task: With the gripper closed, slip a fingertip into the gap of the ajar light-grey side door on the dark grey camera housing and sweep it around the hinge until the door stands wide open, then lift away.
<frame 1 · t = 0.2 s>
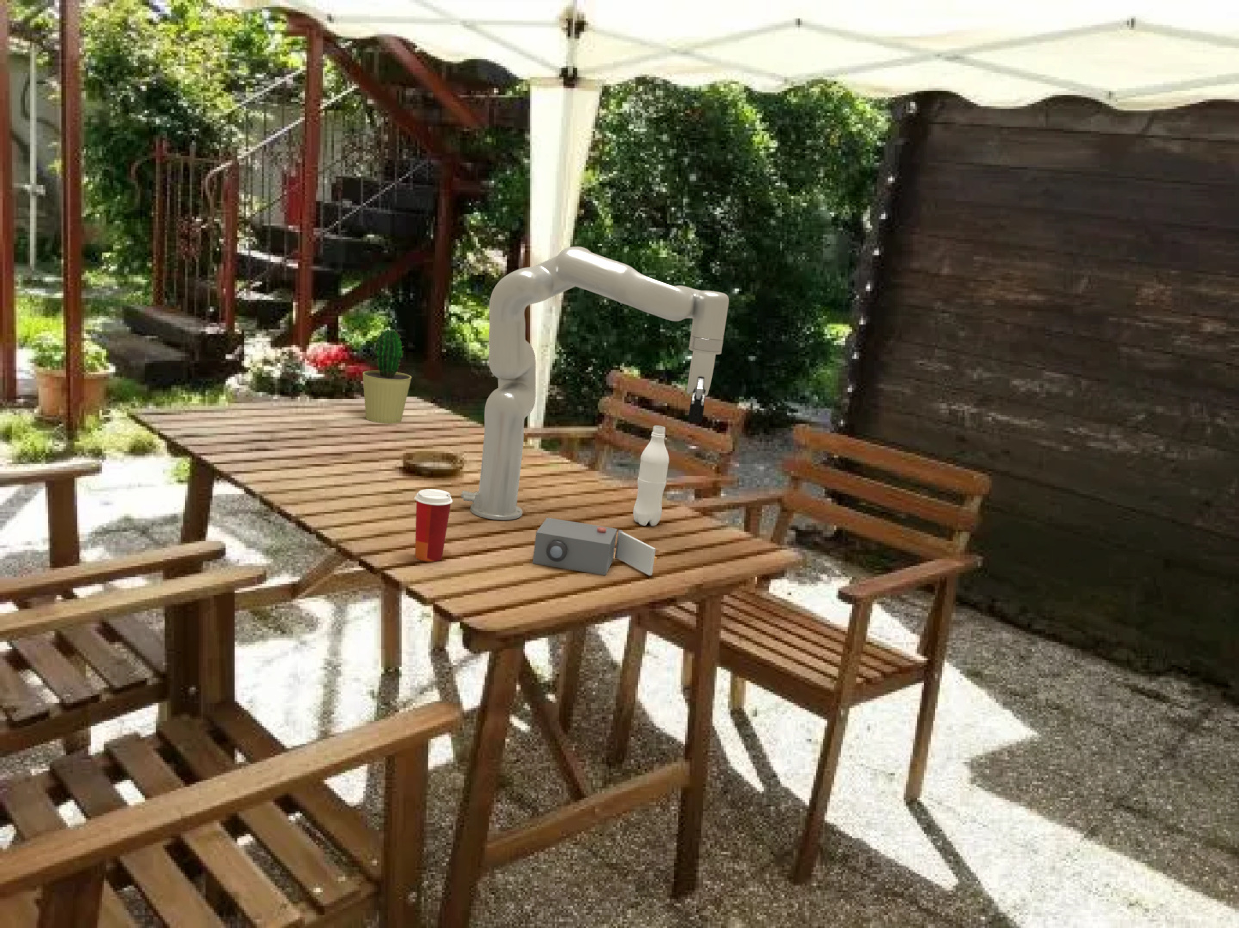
hand: (695, 417, 250), 31 cm above the table, tool pointing down, fingers open, 9 cm apart
side door: (636, 552, 234), point 4 cm above the table, hinge at 45.0°
paper cup: (428, 558, 224), on the table
potted cactus: (383, 420, 347), on the table
camera body: (573, 560, 234), on the table
water bottle: (645, 523, 270), on the table
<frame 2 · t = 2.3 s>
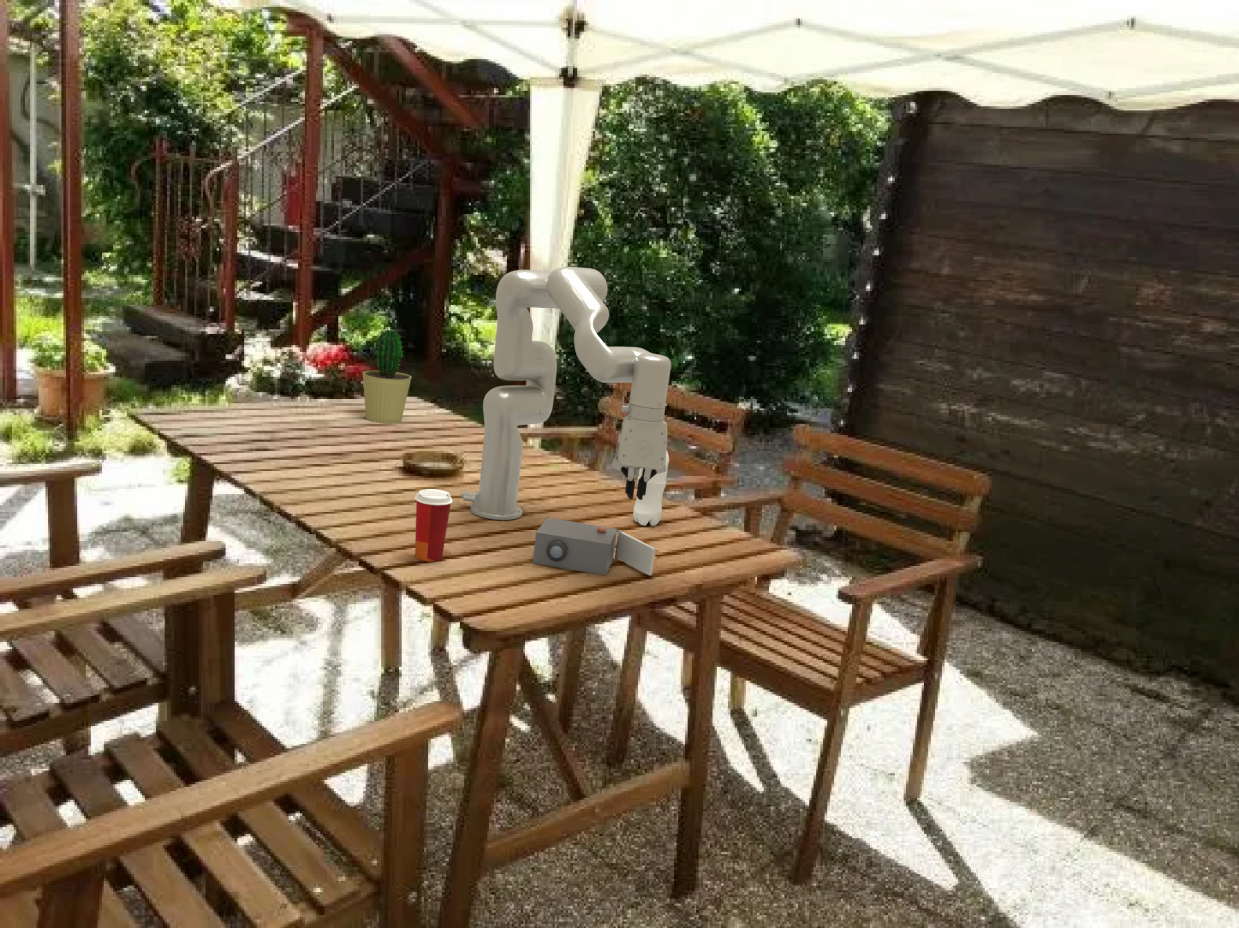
hand: (634, 497, 227), 17 cm above the table, tool pointing down, fingers closed
nothing on the table moved.
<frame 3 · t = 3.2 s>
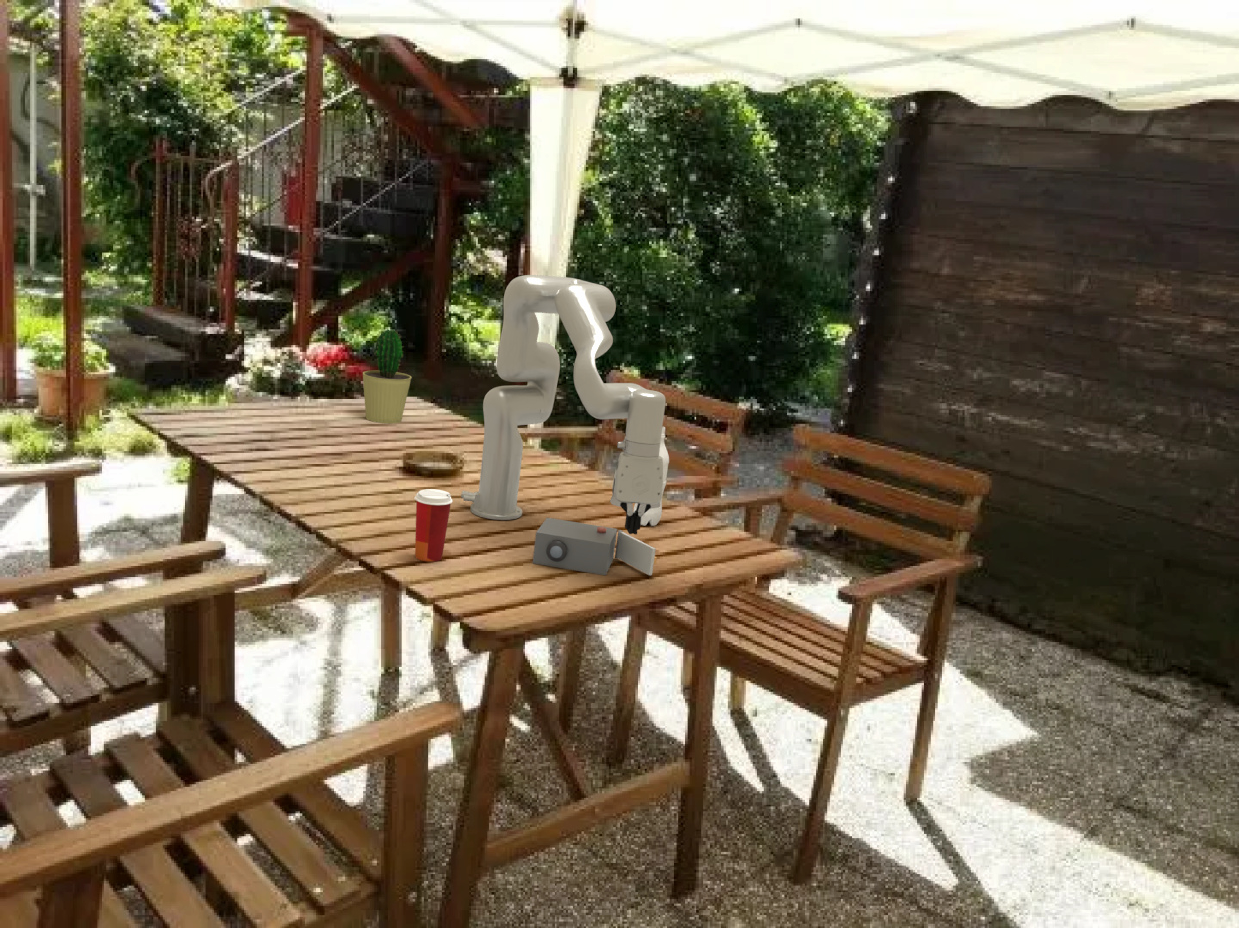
hand: (631, 532, 228), 9 cm above the table, tool pointing down, fingers closed
nothing on the table moved.
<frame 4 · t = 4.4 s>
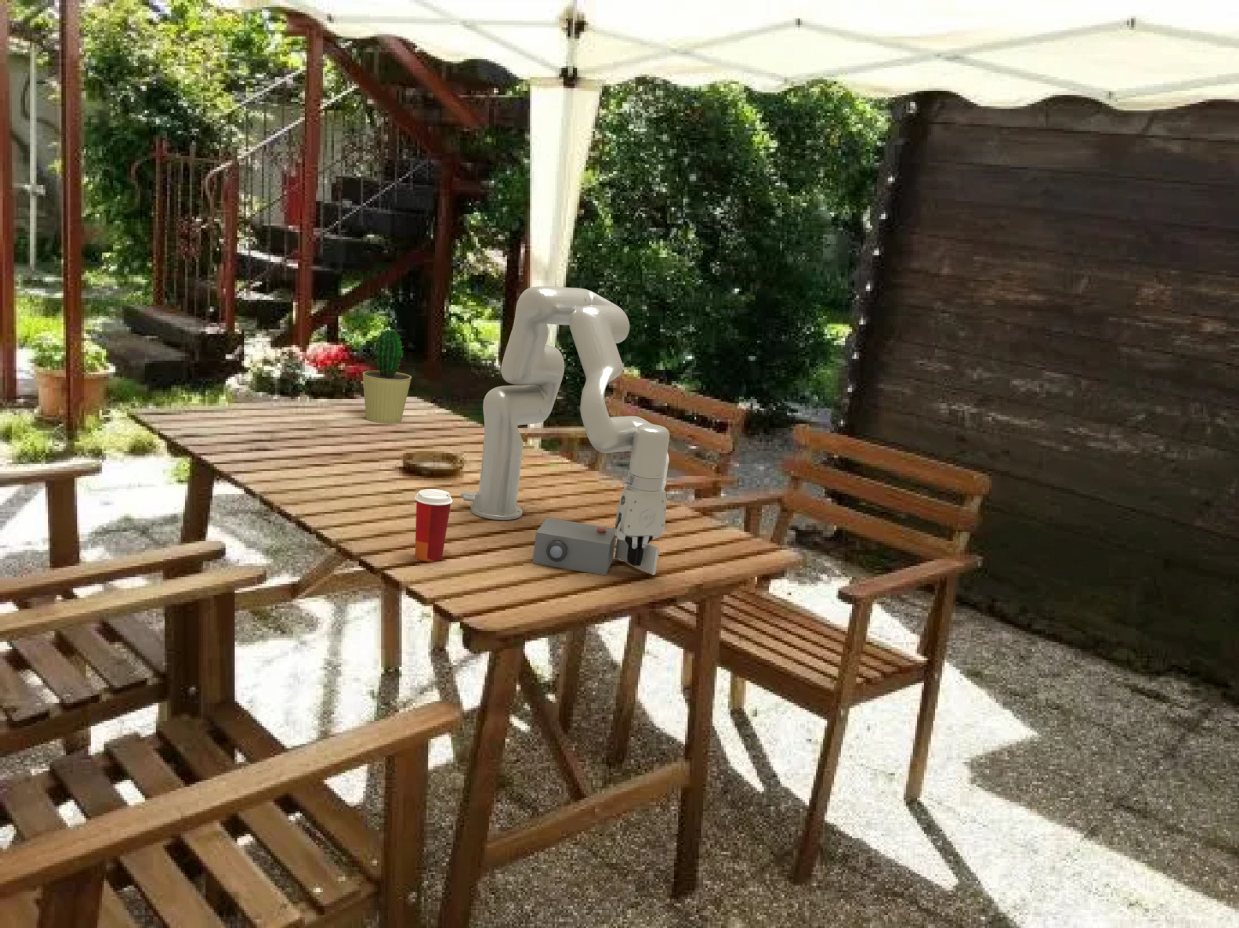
hand: (633, 563, 231), 2 cm above the table, tool pointing down, fingers closed
side door: (637, 552, 235), point 4 cm above the table, hinge at 49.8°, touching gripper
everything else where it was.
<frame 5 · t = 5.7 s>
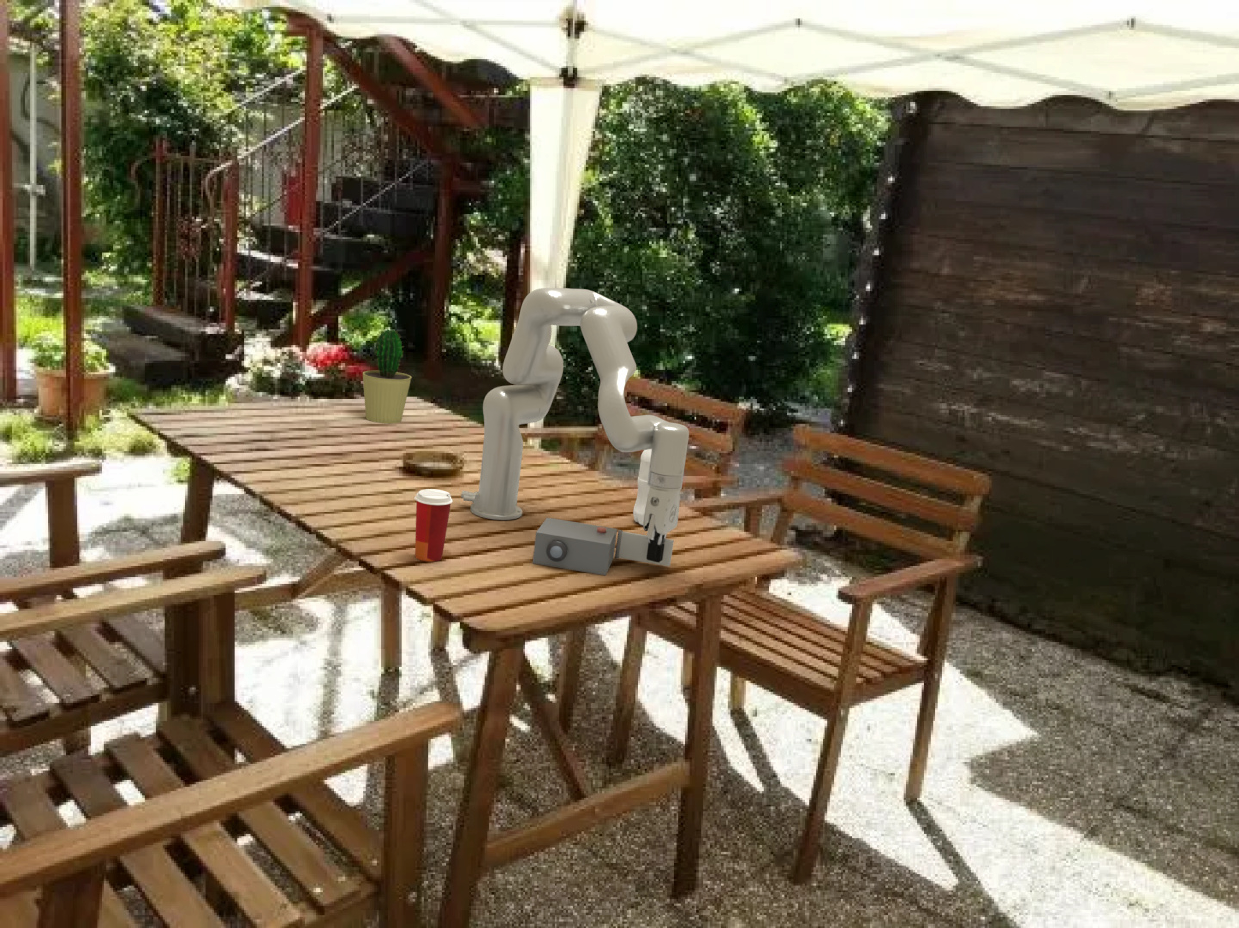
hand: (654, 560, 235), 2 cm above the table, tool pointing down, fingers closed
side door: (644, 548, 238), point 4 cm above the table, hinge at 89.3°, touching gripper
everything else where it was.
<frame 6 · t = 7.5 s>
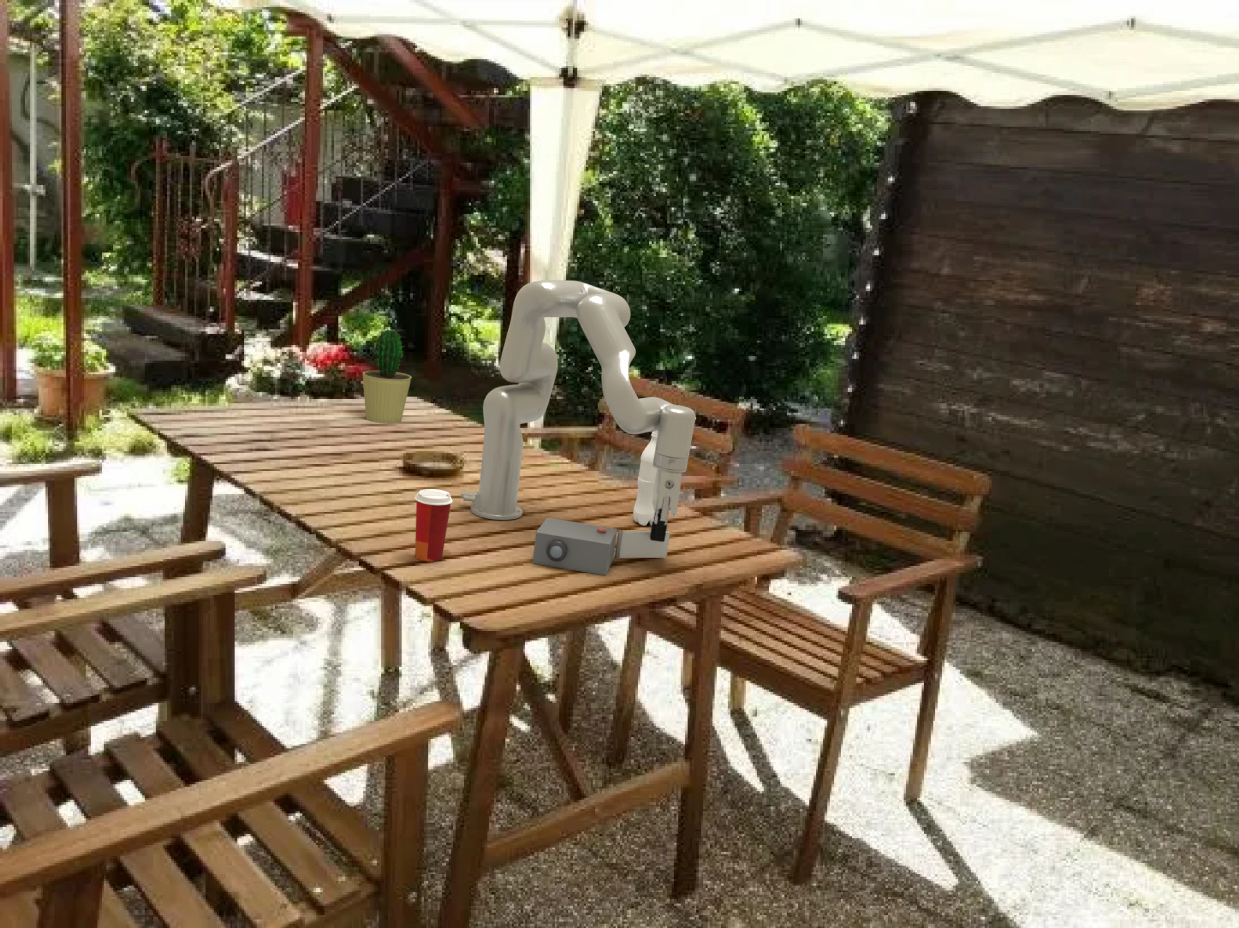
hand: (656, 539, 239), 5 cm above the table, tool pointing down, fingers closed
side door: (641, 543, 241), point 4 cm above the table, hinge at 118.8°
everything else where it was.
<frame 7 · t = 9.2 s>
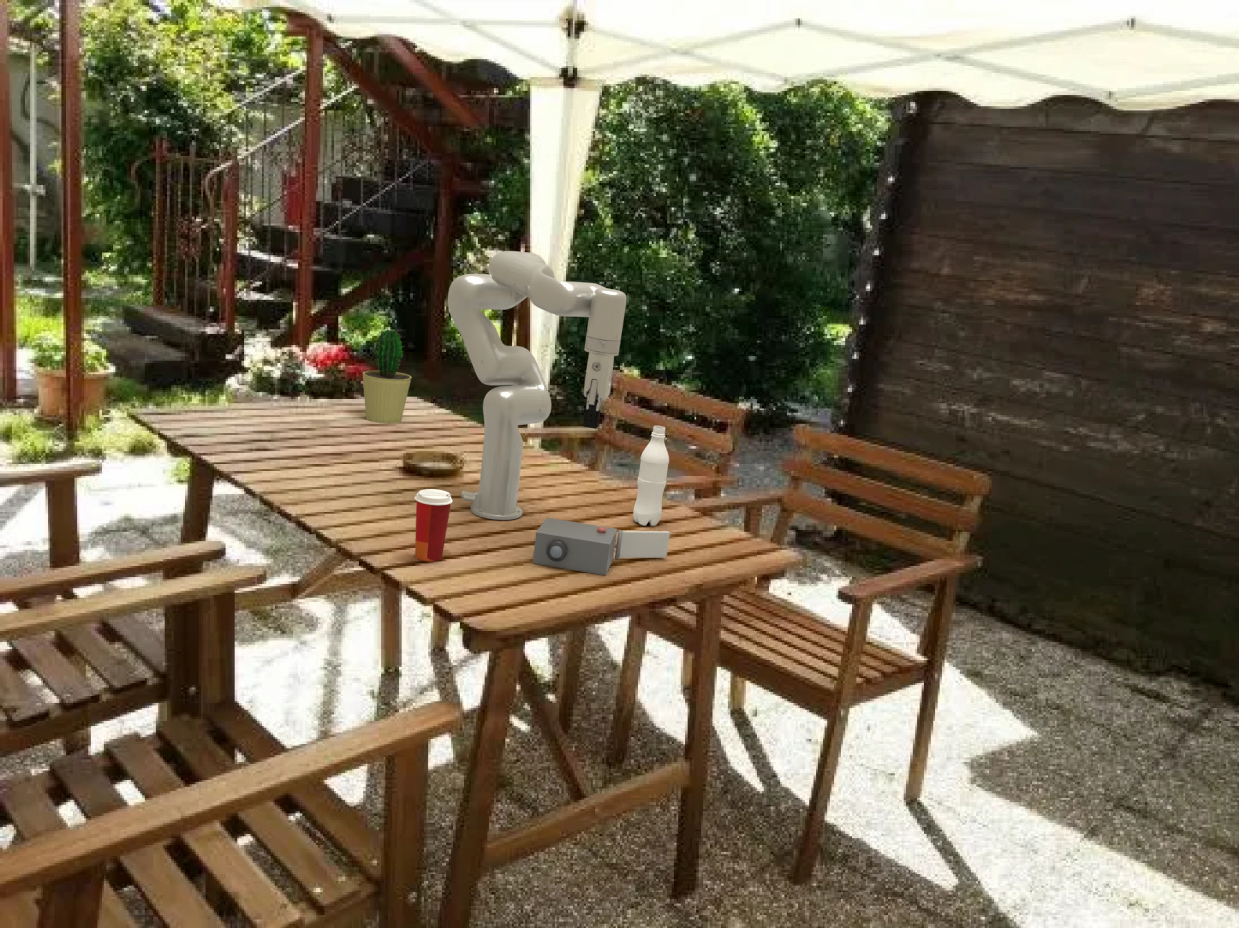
hand: (590, 426, 238), 28 cm above the table, tool pointing down, fingers closed
nothing on the table moved.
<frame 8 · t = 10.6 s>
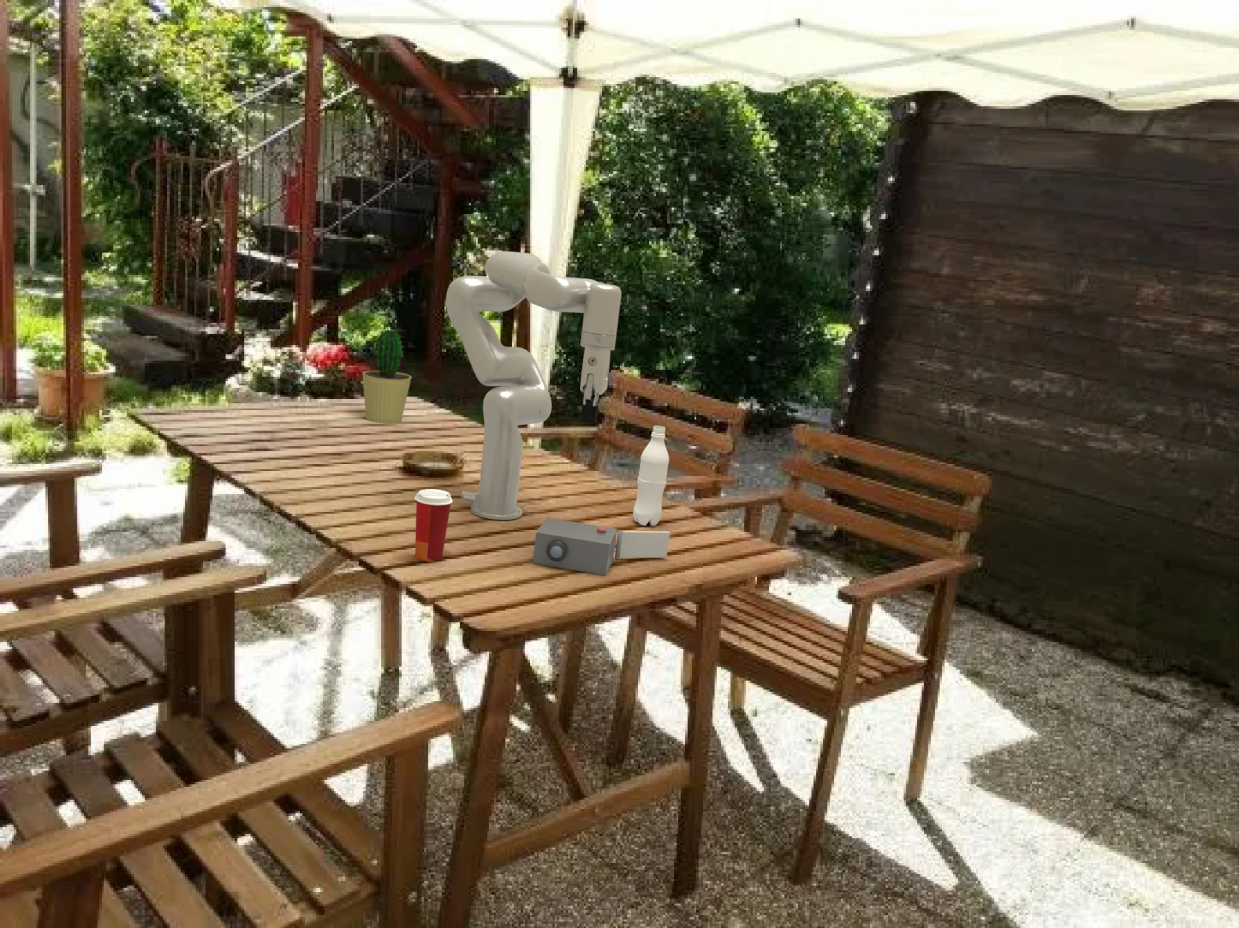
hand: (588, 422, 237), 29 cm above the table, tool pointing down, fingers closed
nothing on the table moved.
at the end: side door at +119° (first picture: +45°) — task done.
